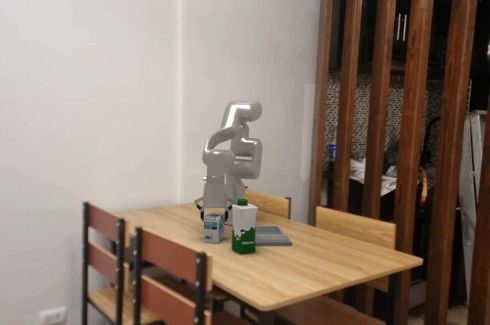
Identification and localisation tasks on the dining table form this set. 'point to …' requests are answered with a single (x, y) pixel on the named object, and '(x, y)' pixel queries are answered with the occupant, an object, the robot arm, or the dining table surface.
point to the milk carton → (244, 227)
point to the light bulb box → (214, 227)
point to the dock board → (272, 243)
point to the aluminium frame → (273, 237)
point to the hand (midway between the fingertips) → (214, 220)
